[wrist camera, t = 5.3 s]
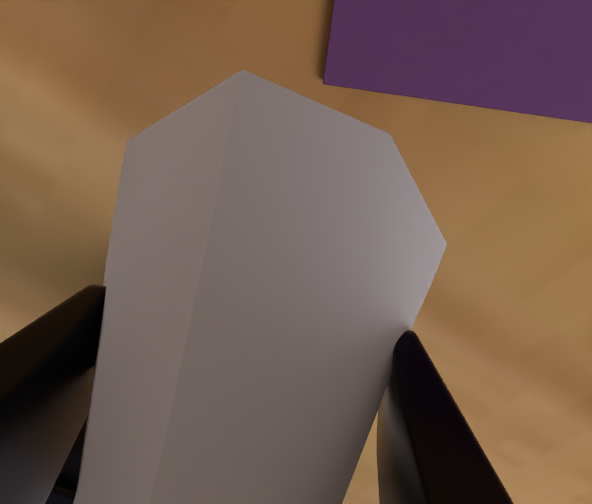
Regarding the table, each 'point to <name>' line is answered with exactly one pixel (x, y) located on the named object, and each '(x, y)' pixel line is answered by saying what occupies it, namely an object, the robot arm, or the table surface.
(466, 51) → the cloth
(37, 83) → the table surface
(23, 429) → the robot arm
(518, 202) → the table surface
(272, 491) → the flask
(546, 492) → the table surface
